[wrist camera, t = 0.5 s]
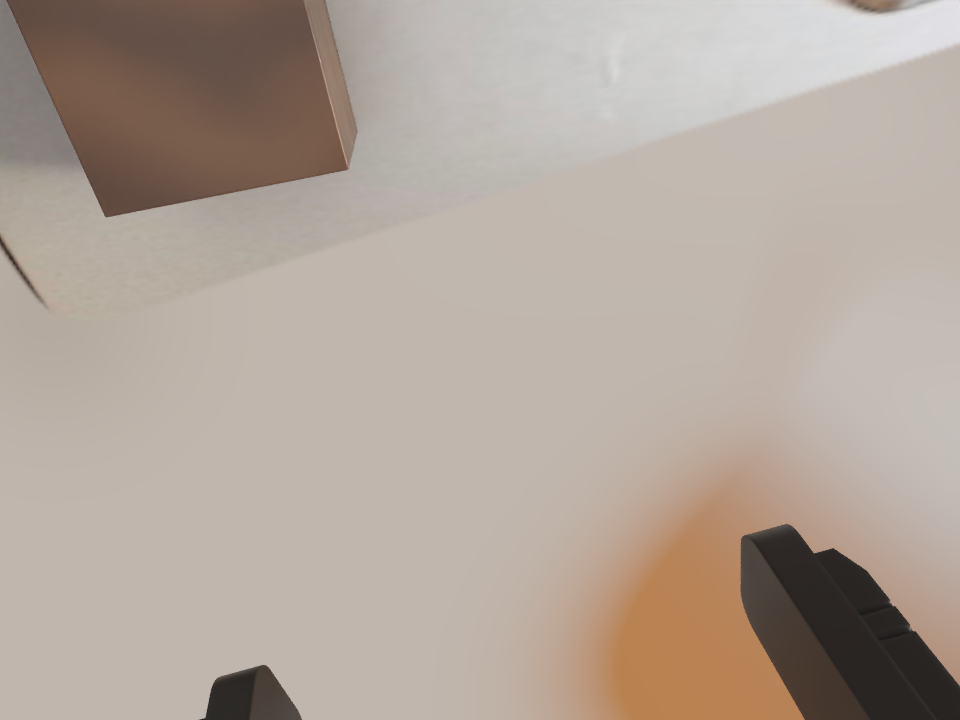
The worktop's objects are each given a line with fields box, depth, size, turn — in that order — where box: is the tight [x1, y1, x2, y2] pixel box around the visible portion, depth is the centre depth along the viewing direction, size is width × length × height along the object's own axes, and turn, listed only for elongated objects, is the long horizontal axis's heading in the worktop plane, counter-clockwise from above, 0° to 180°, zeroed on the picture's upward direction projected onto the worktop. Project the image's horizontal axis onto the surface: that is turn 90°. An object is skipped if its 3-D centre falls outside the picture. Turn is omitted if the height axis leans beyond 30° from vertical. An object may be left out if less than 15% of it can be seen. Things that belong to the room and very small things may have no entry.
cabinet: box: [7, 0, 357, 217], centre depth 27 cm, size 12×10×8 cm
